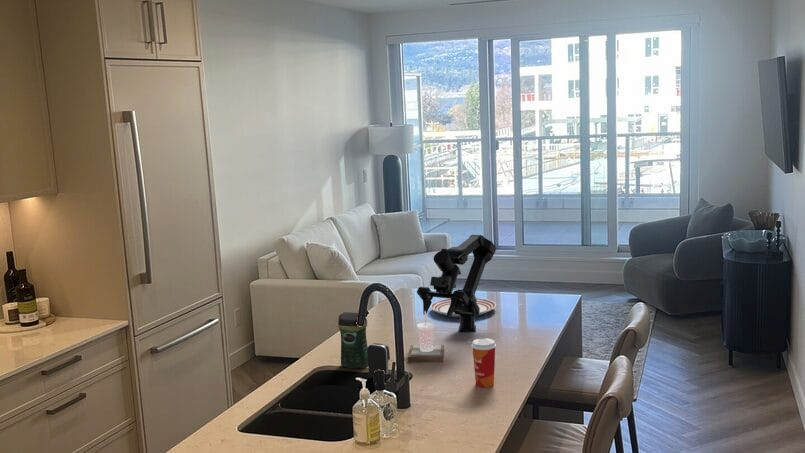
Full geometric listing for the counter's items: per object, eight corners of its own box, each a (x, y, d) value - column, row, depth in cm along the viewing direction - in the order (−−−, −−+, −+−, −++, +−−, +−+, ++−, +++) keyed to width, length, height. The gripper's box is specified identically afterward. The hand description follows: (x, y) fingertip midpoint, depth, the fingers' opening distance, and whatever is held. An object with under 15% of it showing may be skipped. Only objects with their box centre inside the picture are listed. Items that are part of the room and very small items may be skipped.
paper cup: (470, 380, 249) (469, 338, 246) (494, 379, 249) (493, 337, 247) (475, 390, 241) (473, 346, 239) (499, 388, 242) (498, 344, 239)
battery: (392, 376, 256) (390, 343, 254) (386, 380, 252) (385, 347, 250) (373, 374, 259) (371, 341, 257) (368, 378, 255) (366, 344, 253)
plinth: (410, 350, 280) (410, 344, 280) (444, 350, 279) (444, 344, 279) (408, 362, 268) (407, 356, 268) (443, 361, 267) (442, 355, 267)
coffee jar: (372, 362, 270) (369, 310, 267) (363, 370, 263) (360, 317, 260) (347, 360, 274) (344, 308, 270) (337, 368, 266) (334, 315, 263)
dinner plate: (433, 303, 342) (433, 295, 341) (496, 302, 338) (496, 295, 337) (427, 321, 315) (427, 313, 314) (495, 321, 311) (495, 313, 311)
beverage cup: (428, 345, 278) (426, 307, 275) (439, 349, 273) (437, 311, 270) (414, 349, 274) (412, 311, 272) (424, 353, 269) (423, 314, 267)
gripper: (417, 265, 284) (404, 302, 277) (464, 269, 275) (451, 307, 268) (429, 281, 293) (416, 317, 285) (474, 285, 283) (462, 323, 276)
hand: (435, 316), depth 278 cm, fingers open, 9 cm apart
